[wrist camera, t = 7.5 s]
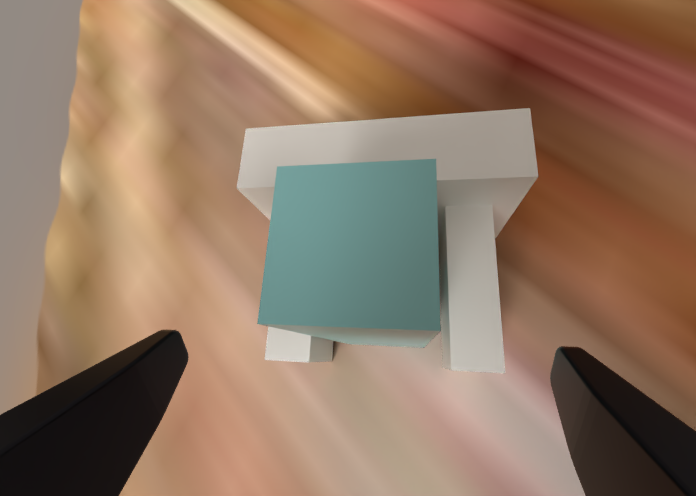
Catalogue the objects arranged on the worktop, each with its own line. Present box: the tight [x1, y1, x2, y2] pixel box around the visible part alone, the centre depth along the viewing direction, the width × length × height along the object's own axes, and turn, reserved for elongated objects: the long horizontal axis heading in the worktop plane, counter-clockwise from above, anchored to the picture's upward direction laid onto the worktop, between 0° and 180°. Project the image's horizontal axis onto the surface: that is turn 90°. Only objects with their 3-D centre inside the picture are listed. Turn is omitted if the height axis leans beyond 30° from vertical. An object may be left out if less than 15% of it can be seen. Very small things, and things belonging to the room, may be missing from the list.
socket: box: [237, 108, 538, 373], centre depth 17 cm, size 10×12×7 cm
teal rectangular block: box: [258, 159, 441, 348], centre depth 14 cm, size 6×4×12 cm
